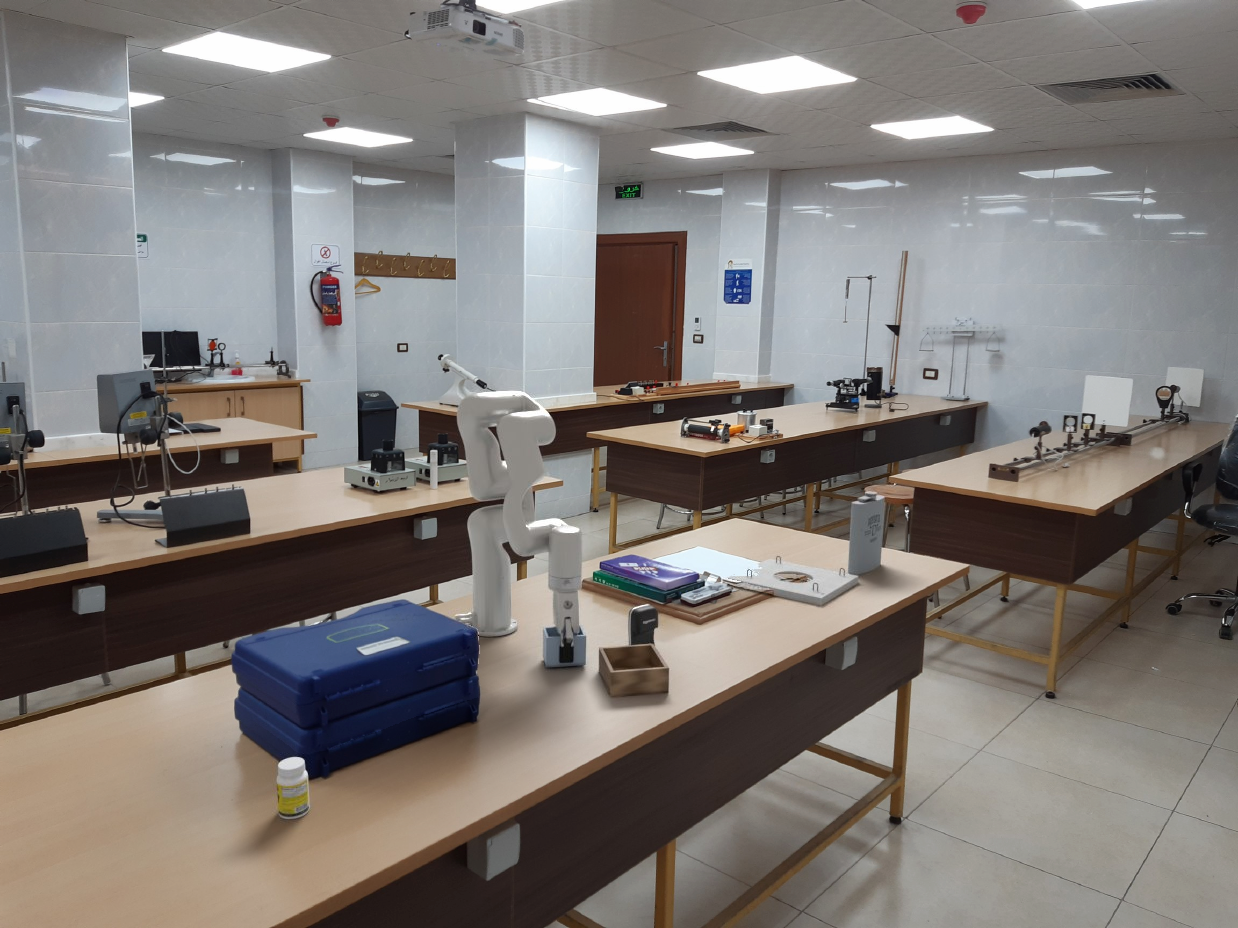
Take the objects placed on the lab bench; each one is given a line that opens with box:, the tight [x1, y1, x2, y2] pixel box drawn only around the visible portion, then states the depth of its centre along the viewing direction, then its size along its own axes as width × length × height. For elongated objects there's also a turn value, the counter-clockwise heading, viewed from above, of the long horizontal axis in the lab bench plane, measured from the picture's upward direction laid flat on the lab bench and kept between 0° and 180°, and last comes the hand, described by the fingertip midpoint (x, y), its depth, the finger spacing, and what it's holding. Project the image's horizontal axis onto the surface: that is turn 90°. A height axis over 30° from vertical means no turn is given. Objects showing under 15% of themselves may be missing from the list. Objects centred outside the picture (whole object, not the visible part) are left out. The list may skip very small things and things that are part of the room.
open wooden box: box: [598, 643, 670, 698], centre depth 188 cm, size 12×14×6 cm
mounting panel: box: [727, 555, 860, 606], centre depth 258 cm, size 27×5×30 cm
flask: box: [847, 490, 886, 576], centre depth 273 cm, size 17×5×25 cm, turn 138°
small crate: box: [542, 624, 587, 668], centre depth 197 cm, size 9×6×7 cm
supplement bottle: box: [276, 756, 311, 820], centre depth 137 cm, size 5×5×8 cm
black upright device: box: [627, 603, 659, 647], centre depth 203 cm, size 7×4×11 cm, turn 128°
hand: (564, 655), depth 197 cm, fingers closed on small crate, 6 cm apart
